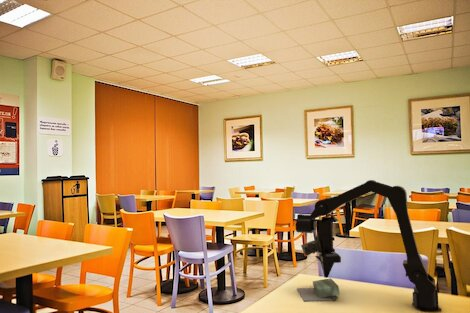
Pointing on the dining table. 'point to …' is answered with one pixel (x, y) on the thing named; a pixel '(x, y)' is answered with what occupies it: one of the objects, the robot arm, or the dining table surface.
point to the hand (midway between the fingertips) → (325, 277)
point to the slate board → (313, 295)
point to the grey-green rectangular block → (326, 288)
